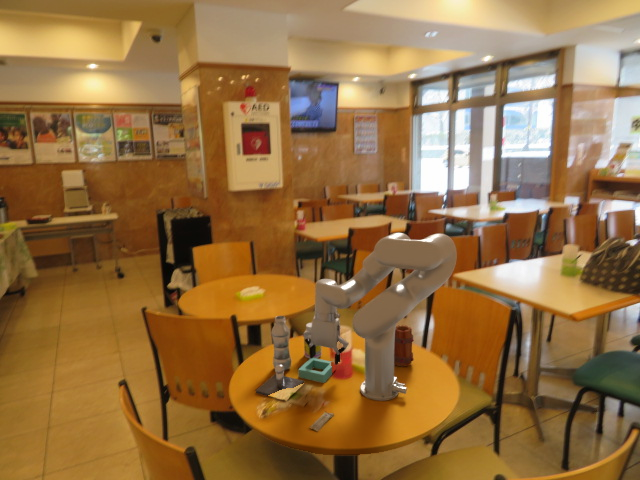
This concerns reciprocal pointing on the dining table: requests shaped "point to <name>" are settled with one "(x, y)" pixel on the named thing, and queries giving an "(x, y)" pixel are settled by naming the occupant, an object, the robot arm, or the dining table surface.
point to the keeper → (278, 382)
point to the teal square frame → (314, 375)
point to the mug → (403, 346)
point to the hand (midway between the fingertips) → (324, 359)
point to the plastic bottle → (281, 343)
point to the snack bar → (321, 421)
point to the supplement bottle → (318, 347)
